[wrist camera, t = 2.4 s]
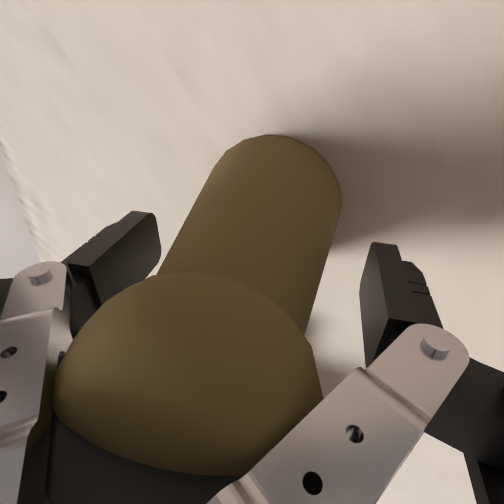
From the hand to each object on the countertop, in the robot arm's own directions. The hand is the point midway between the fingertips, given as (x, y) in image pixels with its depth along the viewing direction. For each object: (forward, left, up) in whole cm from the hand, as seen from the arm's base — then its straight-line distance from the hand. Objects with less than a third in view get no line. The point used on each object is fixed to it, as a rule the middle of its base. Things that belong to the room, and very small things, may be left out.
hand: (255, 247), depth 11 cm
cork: (0, 0, -4) cm, 4 cm away
